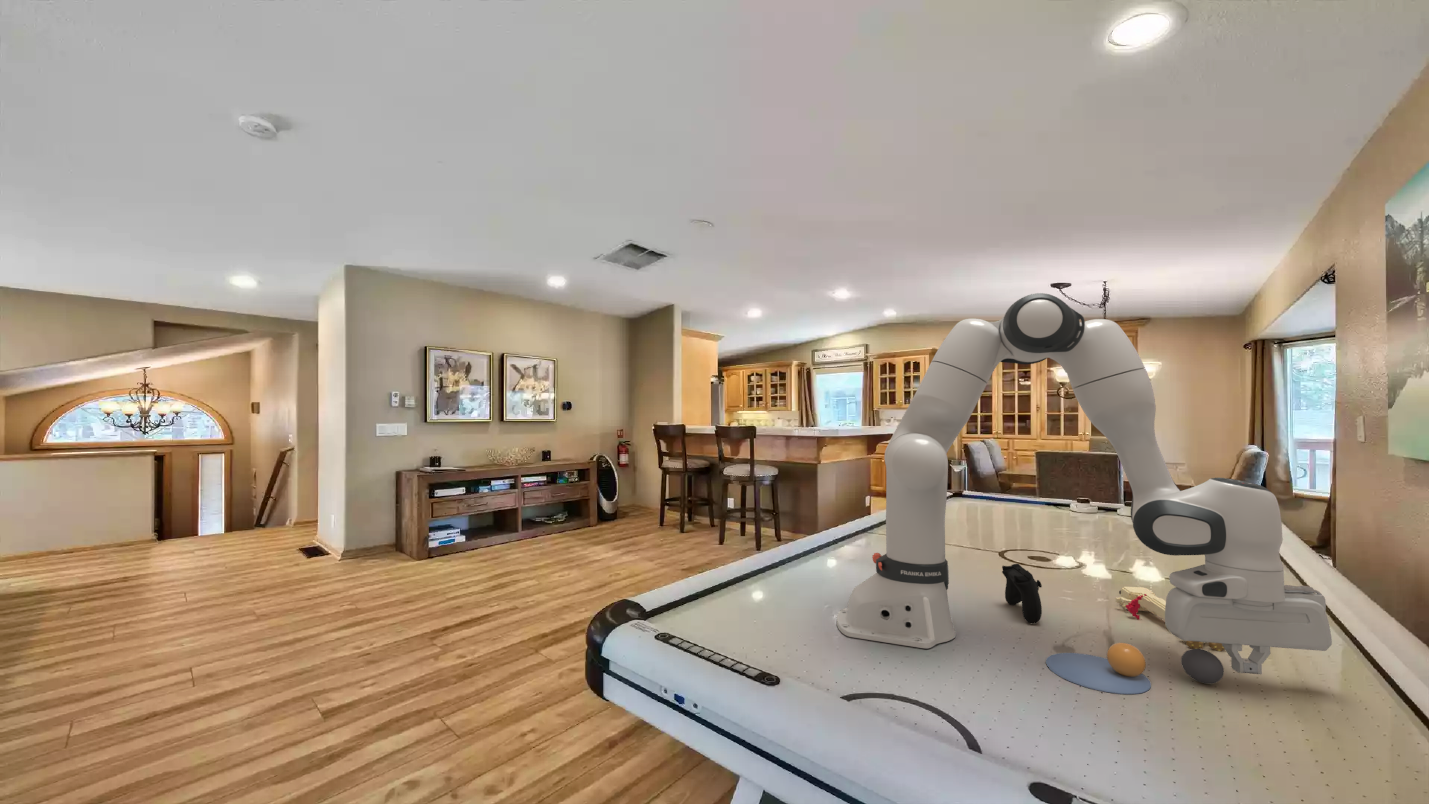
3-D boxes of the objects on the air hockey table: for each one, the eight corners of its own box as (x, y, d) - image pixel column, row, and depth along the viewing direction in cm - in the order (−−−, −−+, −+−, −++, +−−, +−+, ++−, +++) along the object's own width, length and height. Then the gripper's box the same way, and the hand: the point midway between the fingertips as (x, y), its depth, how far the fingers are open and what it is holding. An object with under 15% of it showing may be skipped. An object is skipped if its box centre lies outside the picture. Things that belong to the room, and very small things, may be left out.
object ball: (1160, 671, 84) (1131, 688, 84) (1142, 658, 89) (1115, 674, 89) (1137, 644, 84) (1109, 661, 85) (1120, 632, 89) (1094, 648, 90)
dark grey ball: (1229, 655, 82) (1235, 689, 81) (1206, 642, 87) (1211, 674, 86) (1191, 657, 83) (1197, 690, 82) (1171, 644, 88) (1176, 675, 87)
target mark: (1067, 689, 82) (1067, 687, 82) (1033, 650, 96) (1033, 649, 96) (1172, 698, 79) (1172, 697, 79) (1121, 658, 93) (1121, 656, 93)
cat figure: (1239, 660, 95) (1151, 602, 120) (1240, 612, 95) (1152, 564, 120) (1176, 656, 97) (1102, 599, 122) (1177, 609, 97) (1103, 562, 121)
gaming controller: (1053, 627, 107) (1051, 577, 107) (1020, 625, 108) (1019, 575, 108) (1026, 604, 121) (1025, 559, 121) (997, 602, 122) (997, 558, 122)
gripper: (1305, 581, 85) (1309, 669, 84) (1157, 573, 89) (1160, 657, 89) (1343, 593, 79) (1347, 688, 78) (1182, 584, 83) (1185, 675, 82)
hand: (1246, 672), depth 83 cm, fingers closed
